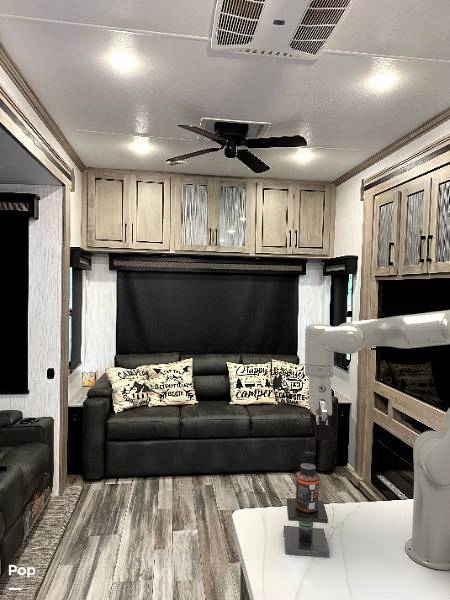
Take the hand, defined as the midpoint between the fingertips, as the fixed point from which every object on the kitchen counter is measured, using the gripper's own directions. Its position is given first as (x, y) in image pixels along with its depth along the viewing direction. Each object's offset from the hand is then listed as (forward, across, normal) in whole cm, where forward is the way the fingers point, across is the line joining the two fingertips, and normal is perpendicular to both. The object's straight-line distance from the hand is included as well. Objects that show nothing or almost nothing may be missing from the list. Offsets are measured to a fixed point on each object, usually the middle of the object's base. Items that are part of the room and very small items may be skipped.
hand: (318, 433), depth 119 cm
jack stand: (+29, -2, +4) cm, 29 cm away
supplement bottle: (+19, -2, +3) cm, 20 cm away
